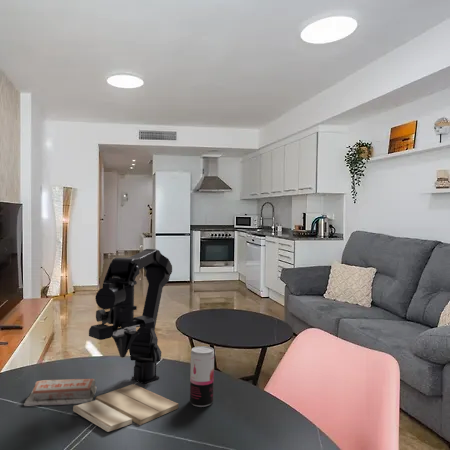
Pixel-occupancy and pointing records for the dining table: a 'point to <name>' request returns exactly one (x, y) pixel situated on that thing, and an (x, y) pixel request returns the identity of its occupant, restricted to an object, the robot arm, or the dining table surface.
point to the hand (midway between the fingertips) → (122, 357)
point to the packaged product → (62, 392)
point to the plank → (102, 415)
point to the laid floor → (138, 403)
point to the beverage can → (202, 376)
